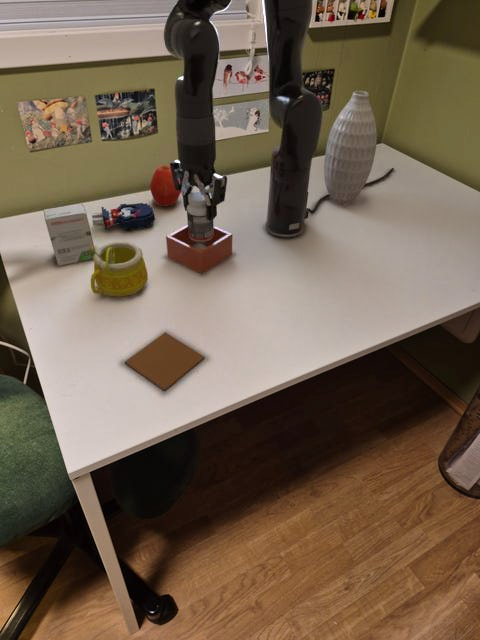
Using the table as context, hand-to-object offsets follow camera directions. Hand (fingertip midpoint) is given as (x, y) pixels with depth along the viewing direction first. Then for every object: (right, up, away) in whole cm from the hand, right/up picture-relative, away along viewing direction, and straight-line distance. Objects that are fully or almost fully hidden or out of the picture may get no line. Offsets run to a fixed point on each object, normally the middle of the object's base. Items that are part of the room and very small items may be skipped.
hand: (200, 214), depth 102 cm
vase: (+37, +11, +30) cm, 49 cm away
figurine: (-21, +1, +17) cm, 27 cm away
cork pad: (-5, -30, -18) cm, 36 cm away
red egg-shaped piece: (-11, +9, +26) cm, 30 cm away
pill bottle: (0, -4, +4) cm, 6 cm away
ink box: (-29, -9, +5) cm, 31 cm away
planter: (-1, -8, +7) cm, 11 cm away
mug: (-17, -16, -2) cm, 24 cm away
